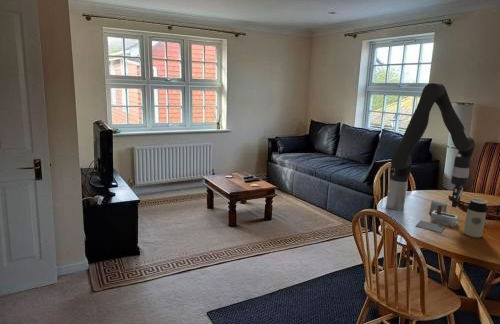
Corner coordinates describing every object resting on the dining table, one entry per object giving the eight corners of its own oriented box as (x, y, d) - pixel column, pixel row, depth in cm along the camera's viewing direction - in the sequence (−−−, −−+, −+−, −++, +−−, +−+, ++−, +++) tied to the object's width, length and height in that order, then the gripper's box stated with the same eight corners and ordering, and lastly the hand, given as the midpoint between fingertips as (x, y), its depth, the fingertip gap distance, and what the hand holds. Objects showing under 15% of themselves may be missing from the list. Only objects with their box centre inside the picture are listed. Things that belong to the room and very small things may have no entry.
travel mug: (464, 229, 187) (470, 196, 182) (482, 234, 182) (489, 200, 178) (461, 234, 181) (468, 200, 176) (480, 239, 176) (487, 204, 172)
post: (435, 220, 198) (437, 205, 196) (435, 219, 199) (438, 204, 197) (439, 221, 196) (441, 206, 194) (439, 220, 198) (442, 205, 196)
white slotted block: (430, 220, 197) (431, 213, 196) (432, 217, 202) (433, 210, 201) (454, 226, 190) (456, 218, 189) (457, 223, 195) (458, 215, 194)
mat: (415, 226, 189) (415, 225, 189) (420, 220, 197) (420, 220, 197) (440, 232, 182) (440, 232, 182) (444, 226, 189) (445, 226, 189)
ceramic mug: (445, 217, 203) (447, 204, 201) (429, 214, 206) (431, 201, 205) (444, 212, 212) (447, 199, 211) (429, 209, 216) (431, 197, 214)
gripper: (454, 171, 195) (450, 200, 199) (449, 176, 184) (444, 206, 188) (470, 174, 191) (465, 203, 194) (466, 179, 180) (461, 210, 183)
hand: (455, 205), depth 191 cm, fingers open, 8 cm apart
